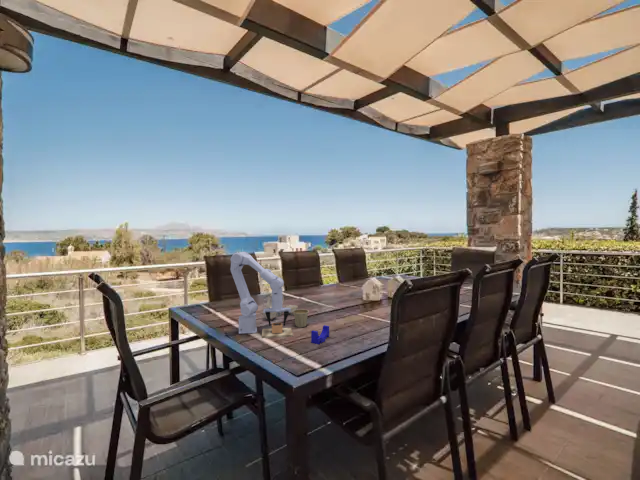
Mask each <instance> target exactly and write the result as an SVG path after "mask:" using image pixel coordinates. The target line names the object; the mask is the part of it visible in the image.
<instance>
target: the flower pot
mask: <svg viewBox="0 0 640 480" xmlns="http://www.w3.org/2000/svg"><path fill="white" fill-rule="evenodd" d="M293 313H294V315H293V316H294V323H295V326H296V327H297V328H304V327H307V323H308V316H309V313H310V310H308V309H304V308H303V309H302V308H299V309H298V308H297V310H294V311H293Z"/></svg>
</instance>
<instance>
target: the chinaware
mask: <svg viewBox="0 0 640 480" xmlns="http://www.w3.org/2000/svg"><path fill="white" fill-rule="evenodd" d="M266 297H267V301H266V305H265V309H267V308H272V293H271V294H269V295H266ZM284 302H285V297H284V295H283V294H282V306H283V305H284V304H283V303H284ZM284 308H291V312H289V315H290V316H292V315H293V316H294V313H293V311H294V310H298V308H299V306H298V305H296V304H293V305H292V304H287V305H285V306H284ZM282 313H283V314H284V312H272V313H270V321H274V319H275V318H276V317H281V316H282ZM263 315H264V316H265V319H266V320H268V319H267V317H266V313H263V314H261V318H262V319H264V317H263ZM289 315H288V316H289Z"/></svg>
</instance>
